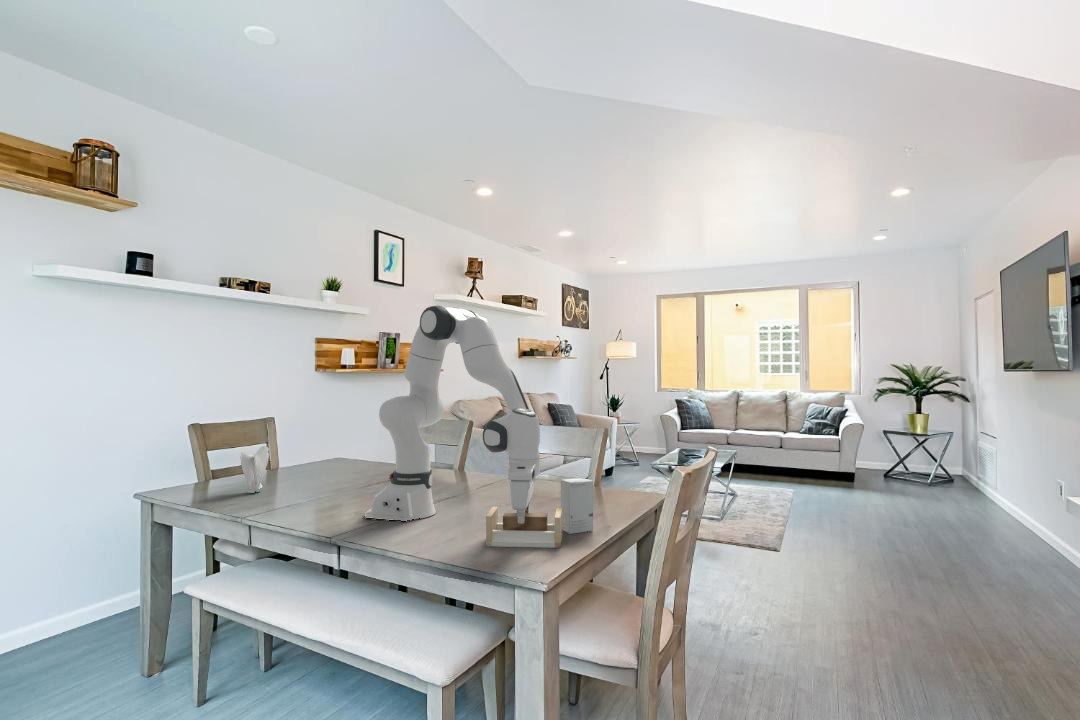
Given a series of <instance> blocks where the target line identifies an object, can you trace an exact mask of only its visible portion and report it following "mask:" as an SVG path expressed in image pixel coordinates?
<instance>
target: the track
mask: <svg viewBox="0 0 1080 720" xmlns="http://www.w3.org/2000/svg"><path fill="white" fill-rule="evenodd" d="M498 509H499V507H498V506H492V507H491V508H490V510H489V511H488V512H487V514H486V516H485V530H486V531H485V544H486V545H485V546H486V547H502V548H503V547H507V548H508V547H513V548H545V549H546V548H550V549H551V548H552V549H554V548H555V549H556V548H557V549H559V548H560V549H561V547H562V541H563V530H562V508H561V507H556V509H555V510H556V511H555V515H554V523H547V525H548V531H517V530H503V522H499V510H498Z"/></svg>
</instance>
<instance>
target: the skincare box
mask: <svg viewBox="0 0 1080 720" xmlns="http://www.w3.org/2000/svg"><path fill="white" fill-rule="evenodd" d="M560 508H562V532H565V533H566V534H567V535H575V534H580V533H586V532H587V531H588V532H593V531H594V480H592V479H588V478H585V477H580V478H579V477H577V478H565V479H560Z"/></svg>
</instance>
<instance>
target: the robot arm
mask: <svg viewBox="0 0 1080 720" xmlns="http://www.w3.org/2000/svg"><path fill="white" fill-rule="evenodd" d="M450 343H455V344H457V345H458V344H459V347H460V350H461V355H462V359H463V363H464V367H465V369H466V371H467V374H469V376H470V377H471V378H472V379H474V380H475V381H477V382H480V383H482V384H485V385H487V386H488V385H489V386H490V387H492V388H494V389H495V390H497V391H498V392H499V393H500V394H501V396H502V398H503V400H504V403H505V404H506V408H507V409H508V413H507V414H505V415H504V416H501V417H499V418H498V417H497V418H496V419H493V420H489V421H487V423H485V425H484V427H483V429H482V430H483V431H482V442H483V445H484V446H485V447H486V448H485V449H487V450H488V451H489V452H490V453H496V454H500V453H507V454H508V455H507V479H508V480H509V481H510V482H509V483H510V485H509V486H510V489H509V490H510V501H511V507H512V510H514V511H515V510H516V513H517V516H518V523H519V524H523V523H524V522H525V513H530V504H531V503H530V502H531V499H532V496H533V494H534V491H535V481H536V477H537V476H539V475H540V473H541V466H540V465H541V458H540V457H541V456H540V452H539V446H540V443H541V430H540V429H541V426H540V419H539V416H538V414H537V413H536V412H535V411H534V410H532V409H530V408H529V405H528V403H527V401H526V398H525V396H524V393H523V390H522V389H521V386H520V384H519V382H518V381H519V380H518V379H517V377H516V375H515V373H514V371H513V370H512V369H511V368H510V367H509V366H508V365H507V363H506V361H505V360H504V358H503V356H502V354H501V351H500V349H499V345H498V342H497V339H496V336H495V334H494V331H493V329H492V326H491V325H490V322H489V321H488V320H487V319H486V318H485V317H482V316H480V315H479V314H478V313H476V312H474V311H472V310H468V309H464V308H459V307H457V306H456V307H454V306H453V307H452V306H442V305H431V306H428V307H426V308H425V309H424V310H423V312H422V313H421V316H420V319H419V326H418V327H417V329H416V331H415V333H414V336H413V338H412V342H411V345H410V348H409V353H408V357H407V361H406V365H405V369H404V377H405V379H406V380H407V381H408V382H409V386H410V387H409V388H410V390H409V394H408V395H401V396H395V397H393V398H390V399H387V400H385V401H384V402H383V403H382V404H381V405H380V407H379V413H378V415H379V421H380V423H381V425H382V427H384V428H385V429H386V430H387V431H388V432H389V433H390V436H391V438H392V441H393V445H394V449H395V450H394V451H395V470H393V471H392V473H391V474H389V475H388V479H389V480H390V483H389V484H387V485H386V486H385V487H384V488H382V489H381V490H380V491H379V492H378V493H376V495H375V496H374V497H373V500H372V503H371V507H370V508H369V509H368V510H366V511H365V513H364V516H365V517H373V518H382V519H393V520H401V521H406V522H408V521H407V520H410V521H413V520H412V519H414V520H419V518H420V519H425V518H429V517H431V516H433V515H435V514H436V508H435V505H434V500H433V494H432V485H433V473H432V472H433V471H432V469H431V447H430V444H429V443H427V442H426V441H425V440H424V438H423V435H422V431H421V428H425V427H430V426H432V425H434V424H436V423H438V422H440V421H441V420H442V418H443V417H444V414H445V407H444V406H445V405H444V402H443V401H442V399H441V398H440V395H439V379H440V374H441V370H442V366H443V363H444V362H443V361H444V358H445V352H446V348H447V347H448V346H449V344H450ZM365 517H364V518H365ZM401 521H400V522H401Z"/></svg>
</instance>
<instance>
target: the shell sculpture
mask: <svg viewBox="0 0 1080 720" xmlns="http://www.w3.org/2000/svg"><path fill="white" fill-rule="evenodd" d="M269 449H270V448H269V447H268V446H267V445H261V447H259V449H258V450H257V452H256V453H253V454H247V453H246V452H244V451H241V452H240V454H241V455H240V465H241V469H242V472H243V475H244V478H245V479H244V480H245V481H246V488H245V490H246V489H247V490H252V489H254V490H256V489H260V488H262V487H263V488H264V486H263V485H262V480H263V478H264V475H265V473H266V468H267V466H268V464H269V457H270V453H269V451H270V450H269ZM254 487H255V488H254Z"/></svg>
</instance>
